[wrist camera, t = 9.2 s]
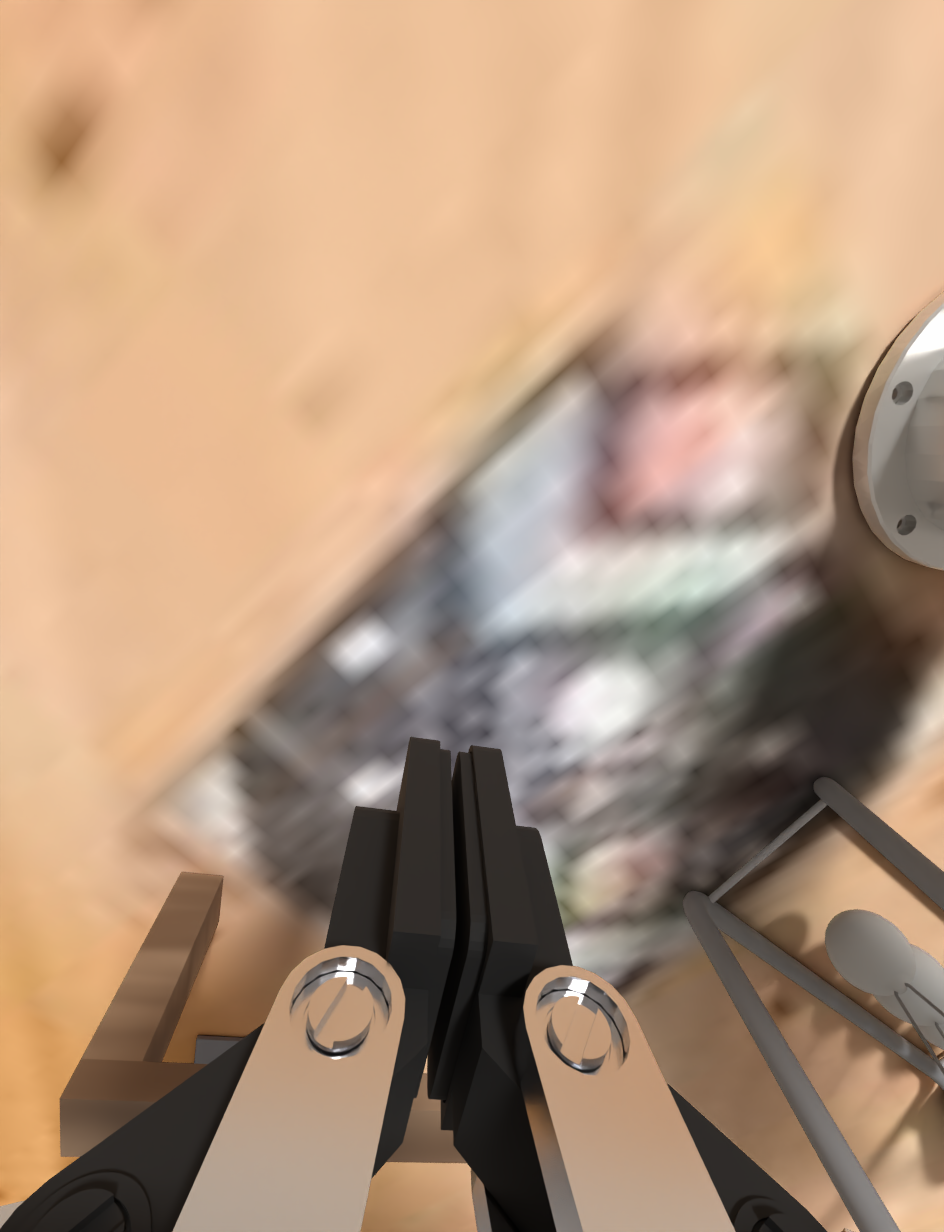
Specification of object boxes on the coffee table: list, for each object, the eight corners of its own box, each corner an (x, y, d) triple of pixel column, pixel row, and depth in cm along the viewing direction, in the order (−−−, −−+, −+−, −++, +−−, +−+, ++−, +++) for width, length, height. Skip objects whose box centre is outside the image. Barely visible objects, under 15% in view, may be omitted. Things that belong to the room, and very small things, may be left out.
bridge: (181, 872, 27) (59, 1098, 18) (474, 900, 29) (499, 1112, 20) (178, 918, 28) (60, 1156, 19) (462, 941, 30) (481, 1163, 21)
